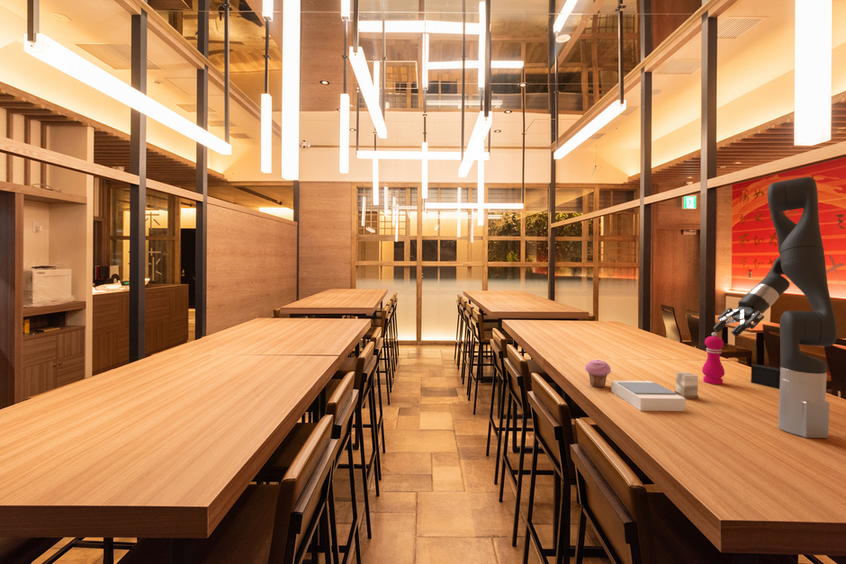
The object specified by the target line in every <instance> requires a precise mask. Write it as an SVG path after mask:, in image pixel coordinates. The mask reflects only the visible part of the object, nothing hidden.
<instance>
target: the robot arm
mask: <svg viewBox="0 0 846 564" xmlns="http://www.w3.org/2000/svg"><path fill="white" fill-rule="evenodd" d="M818 198H819V197H818V186H817V183H816V181H815V179H814V178H813V177H811V176H803V177H798V178H792V179H787V180H780V181H776V182H772V183H770V184H769V185H768V187H767V204H768V209H769V212H770V216H771V221H772V223H773V227H774V230H775V232H776V238H777V248H778V249H777V250H778V253H779V256H778V257H776V258H775V260H774V262H773V263H772V266H771V268H770V270H769V271H768V273H767V274H766V276H765V277H764V278H763V279H762V280H761V281H760V282H758V284H756V285H755V286H754V287H752V288H751V289H750V290H749V291H748V292H747V293H746V294H745V295H744V296H743V297H742V298H741V299H740V300H739V301H738V302H737V303H738V307H736V308H735V309H733V308H732V307H730V306H729V307H728V308H727V309H725V310H724V311H723V312H722V313H721V314H719V316H718V317H717V320H719V321H718V322H717V323H716V325H714V326H713V328H712V329H713V330H714V332H715V333H720V332H721V331H722V330H723V329H724V328H725V327H726V326H728V325H730V324H735V323H739V324H737V325H736V326H735V327H734V328H733V329H732V330H731V331H730V332H731V334H732V336H734V337H739V336H740V335H741V334H742V333H743V332H744V331H745V330H748V329H755V327H756V326H758V324H759V323H760V322H762V320H763V319H764V318H765V316H764V313H765V312H766V311H767V310H768V309H770V307H771V306H773V305H774V303H776V302H777V300H778V299H779V298H780V296H782V295H783V293H785V292H786V291H787V290H788V289H789V288H790V286H791V284H790V281H791V282H792V284H794V285H795V287H797V289H799V290H800V291H801V292H802V293H803V295H804V296H805V297H806V299H807V301H808V302H809V305H810V307H811V310H812V311H810V310H809V311H808V310H807V311H806V310H804V311H803V310H786V311H784V312H783V313H782V314H781V316H780V320H779V339H780V340H779V341H780V343H779V344H780V345H779V346H780V348H779V349H780V350H779V351H780V352H779V353H780V355H779V356H780V365H779V366H780V367H779V369H780V389H779V394H778V395H779V396H778V399H779V401H778V428H779V429H781V430H782V431H784V432H787V433H790V434H792V435H796V436H800V437H802V438H805V439H807V438H809V439H811V438H812V439H813V438H814V439H815V438H816V439H818V438H819V439H828V438H829V429H830V428H829V427H830V426H829V424H830V402H828V401H826V400H827V397H826V396H827V379H828V378H827V376H828V374H827V373H828V365H827V362H826V361H825V360H823V359H820V358H817V357H813V356H810V355H809V354H806V353H804V352H802V350H800V348H799V347H800V345H801V346H817V347H832V346H833V345H834V344H835V343H836V341H837V338H838V326H837V320H836V317H835V311H834V308H833V304H832V299H831V296H830V290H829V286H828V279H827V277H828V276H827V266H826V256H825V250H824V244H823V240H822V239H823V238H822V233H821V228H820V218H819V217H820V215H819V199H818ZM800 209H803V210H802V214H801V216H800V218H799V220H798V221H797V223H795V221H793V220H791V219H790V218H789V217H788V216H787V215H786V214H785V211H794V210H800ZM782 275H783V276H782ZM784 276H786V277H784ZM787 278H788V279H787Z"/></svg>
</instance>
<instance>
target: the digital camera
mask: <svg viewBox="0 0 846 564" xmlns="http://www.w3.org/2000/svg"><path fill="white" fill-rule="evenodd" d="M750 383H752V384H755V385H760V386H764V387H769V388H774V389H776V390H777V389H778V390H780V368H777V367H773V366H768V365H761V364H753V365H751V373H750Z"/></svg>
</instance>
